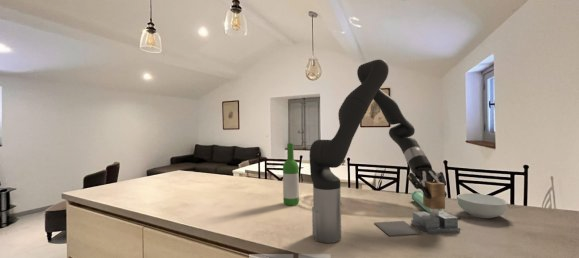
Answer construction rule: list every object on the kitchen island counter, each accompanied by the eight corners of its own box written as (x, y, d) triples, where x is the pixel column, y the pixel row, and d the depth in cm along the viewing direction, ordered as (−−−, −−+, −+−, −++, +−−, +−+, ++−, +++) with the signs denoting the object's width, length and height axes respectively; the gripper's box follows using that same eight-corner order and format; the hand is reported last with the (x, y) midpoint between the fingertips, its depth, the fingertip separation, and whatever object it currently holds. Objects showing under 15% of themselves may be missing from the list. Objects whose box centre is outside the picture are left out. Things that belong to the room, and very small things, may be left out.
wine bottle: (281, 205, 125) (280, 143, 125) (286, 201, 132) (285, 143, 132) (296, 206, 122) (295, 143, 123) (300, 202, 130) (299, 143, 130)
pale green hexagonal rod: (442, 204, 104) (420, 188, 128) (427, 209, 105) (409, 192, 129) (448, 217, 103) (425, 199, 128) (433, 222, 104) (414, 203, 129)
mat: (389, 236, 87) (389, 235, 87) (374, 223, 99) (374, 222, 99) (422, 234, 89) (422, 233, 89) (403, 221, 101) (403, 220, 101)
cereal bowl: (459, 218, 104) (459, 200, 104) (455, 207, 118) (455, 191, 118) (513, 225, 96) (513, 206, 96) (502, 212, 111) (501, 195, 111)
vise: (427, 234, 89) (427, 200, 89) (411, 223, 99) (410, 193, 99) (470, 231, 90) (470, 198, 90) (450, 221, 100) (449, 192, 100)
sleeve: (431, 209, 92) (431, 184, 92) (423, 205, 97) (423, 181, 97) (445, 208, 92) (444, 183, 92) (435, 204, 97) (435, 180, 97)
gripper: (403, 154, 101) (423, 192, 89) (437, 154, 103) (461, 191, 91) (397, 166, 106) (414, 203, 94) (429, 165, 108) (450, 202, 96)
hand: (437, 197), depth 93 cm, fingers closed on sleeve, 5 cm apart
